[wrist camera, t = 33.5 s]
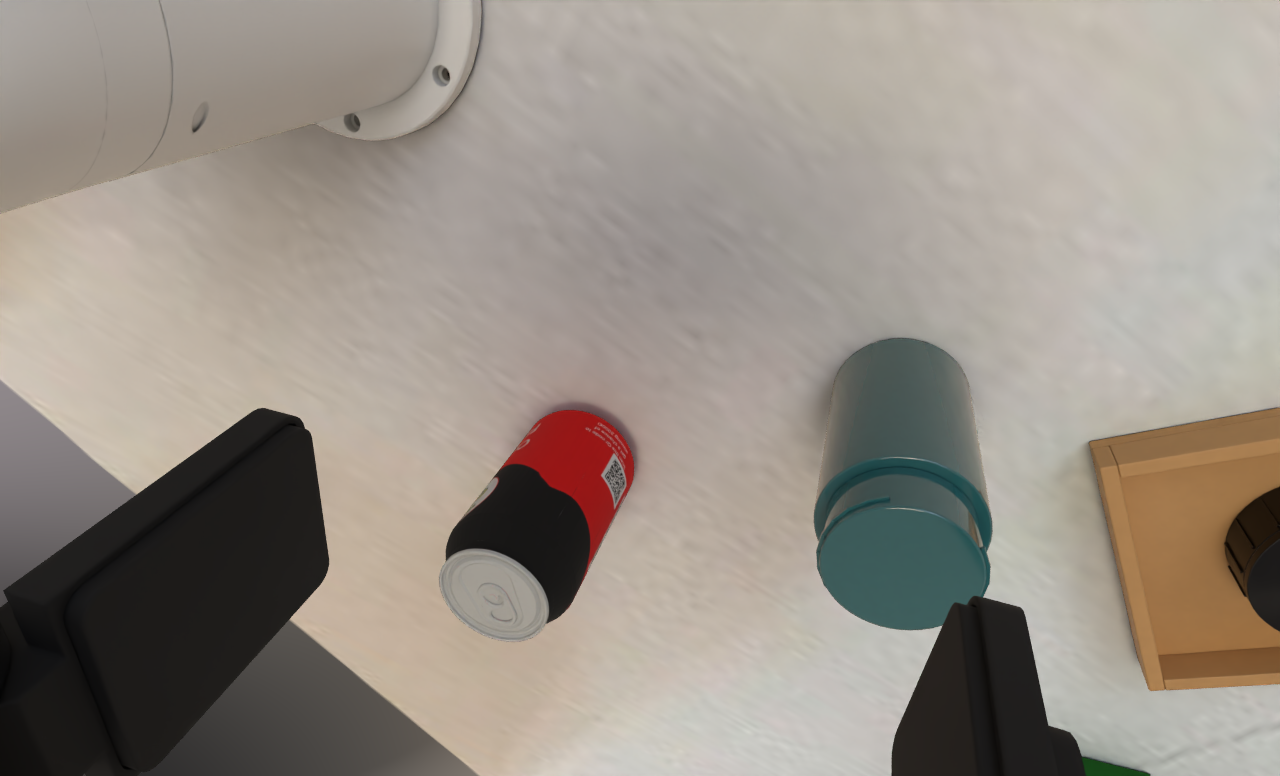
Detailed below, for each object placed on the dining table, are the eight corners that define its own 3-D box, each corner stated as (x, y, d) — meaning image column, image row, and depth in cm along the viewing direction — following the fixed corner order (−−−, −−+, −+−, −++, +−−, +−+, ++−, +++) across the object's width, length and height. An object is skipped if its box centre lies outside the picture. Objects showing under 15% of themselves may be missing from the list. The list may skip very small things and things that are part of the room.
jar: (853, 463, 39) (837, 647, 29) (815, 357, 37) (783, 513, 26) (984, 438, 36) (1019, 630, 26) (951, 322, 34) (975, 481, 24)
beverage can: (620, 393, 41) (529, 535, 31) (653, 491, 43) (580, 652, 33) (518, 408, 43) (403, 544, 33) (555, 500, 46) (459, 652, 36)
